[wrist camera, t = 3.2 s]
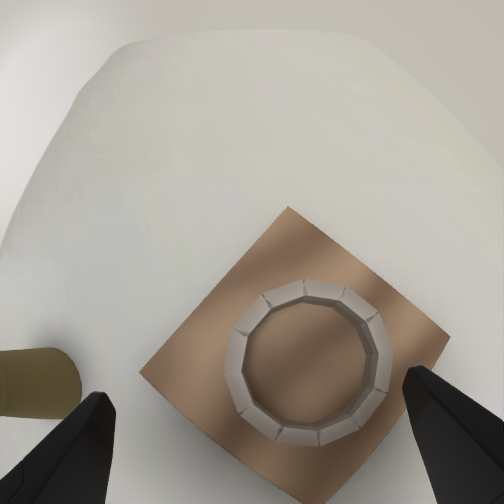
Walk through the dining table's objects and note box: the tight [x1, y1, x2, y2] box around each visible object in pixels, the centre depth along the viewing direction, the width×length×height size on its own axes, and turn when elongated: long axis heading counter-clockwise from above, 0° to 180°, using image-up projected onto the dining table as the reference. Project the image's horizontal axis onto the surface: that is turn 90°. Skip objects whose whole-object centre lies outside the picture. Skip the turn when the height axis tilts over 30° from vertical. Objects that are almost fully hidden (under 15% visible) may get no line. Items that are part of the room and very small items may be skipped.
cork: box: [0, 348, 82, 419], centre depth 15 cm, size 6×6×11 cm
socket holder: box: [139, 206, 450, 504], centre depth 19 cm, size 16×16×4 cm
